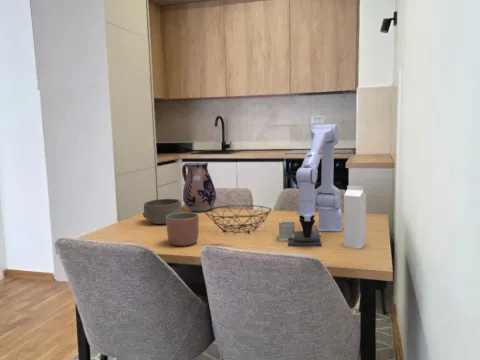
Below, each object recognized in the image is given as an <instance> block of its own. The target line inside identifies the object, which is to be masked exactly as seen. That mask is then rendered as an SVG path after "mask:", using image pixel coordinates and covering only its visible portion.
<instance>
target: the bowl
mask: <svg viewBox="0 0 480 360" xmlns="http://www.w3.org/2000/svg"><path fill="white" fill-rule="evenodd" d="M182 212H183V205H182V202H181V200H180V199H178V198H177V199H176V198H162V199H161V198H160V199H152V200H148V201H145V203H143V212H142V216H143V218H144V219H146V220H147V221H148V222H150V223H152V224H155V225H166V216H167V215H169V214H174V213H182Z"/></svg>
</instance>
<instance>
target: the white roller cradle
mask: <svg viewBox="0 0 480 360" xmlns="http://www.w3.org/2000/svg"><path fill="white" fill-rule="evenodd" d="M278 227H279V228H278V235H279V237H278V241H279V242H288V238H292V235H294V232H295V231H296V221H283V223H282V226H279V225H278Z"/></svg>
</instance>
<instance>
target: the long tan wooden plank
mask: <svg viewBox="0 0 480 360" xmlns="http://www.w3.org/2000/svg"><path fill="white" fill-rule="evenodd" d="M283 222H284V218H283V217H279V220H278V227H279V226H282V223H283Z"/></svg>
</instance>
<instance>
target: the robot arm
mask: <svg viewBox="0 0 480 360" xmlns="http://www.w3.org/2000/svg"><path fill="white" fill-rule="evenodd" d="M310 137H311V140H312V142H311V146H310V150H309V151H307V152H306V154H305V157H304V158H303V161H302V164H301V166H300V167H299V168H297V171H296V174H295V180H296V182H297V188H298V210H295V214H296V215H299V216H298V217H299V223H300V225H301V228H302V231H303V234H304V238H310V236H311V231H312V230H313V227H314V224H315V222H316V219H315V215H316V208H317V210H318V225H317V226H316V227H317V230H319V232H342V226H343V216H342V214H343V213H342V209H341V208H340V206H341V202H342V200H341V199H342V197H341V191H340V189H339V188H338V187H336V186H335V185H334V168H335V167H334V166H335V165H334V164H335V163H334V161H335V160H334V159H335V158H334V157H335V155H334V153H335V146H337V145H338V144H339V127H338V125H337V124H336V123H332V124H328V123H327V124H317V123H316V124H315V123H314V124H313V125H312V126H311V128H310ZM320 153H321V155H320ZM320 161H321V180H320V181H321V185H320V186H318V187H317V188H316V187H315V186H316V183H317V181H318V173H319V172H318V171H319V170H318V168H319V165H320ZM315 188H316V189H315ZM315 207H316V208H315Z"/></svg>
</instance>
